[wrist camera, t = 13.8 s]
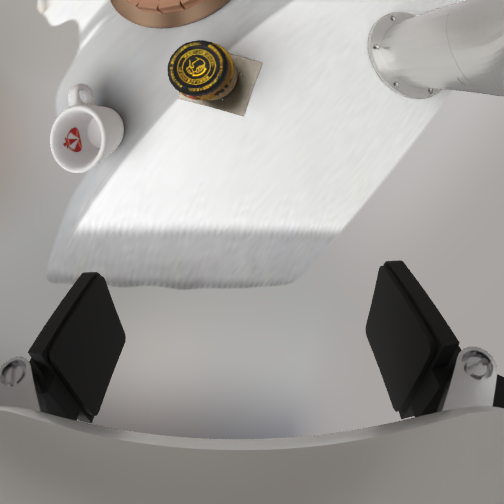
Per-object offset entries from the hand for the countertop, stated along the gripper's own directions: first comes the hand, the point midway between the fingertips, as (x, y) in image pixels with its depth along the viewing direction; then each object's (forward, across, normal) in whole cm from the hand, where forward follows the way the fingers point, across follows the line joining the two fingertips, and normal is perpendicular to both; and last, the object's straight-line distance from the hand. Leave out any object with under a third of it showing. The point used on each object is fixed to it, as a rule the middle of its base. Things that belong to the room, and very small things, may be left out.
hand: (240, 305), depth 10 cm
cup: (+31, +19, -6) cm, 36 cm away
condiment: (+31, +3, -9) cm, 32 cm away
